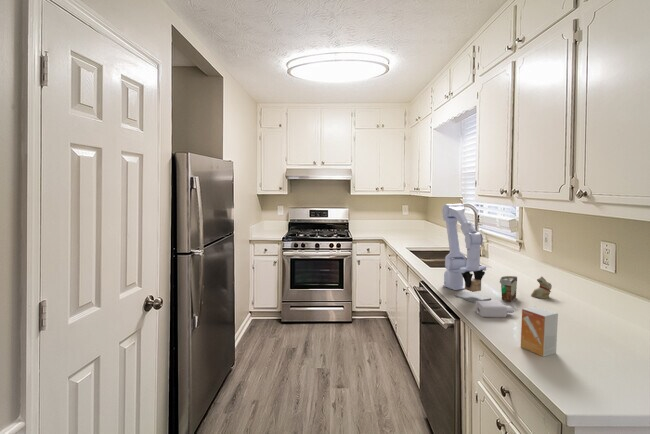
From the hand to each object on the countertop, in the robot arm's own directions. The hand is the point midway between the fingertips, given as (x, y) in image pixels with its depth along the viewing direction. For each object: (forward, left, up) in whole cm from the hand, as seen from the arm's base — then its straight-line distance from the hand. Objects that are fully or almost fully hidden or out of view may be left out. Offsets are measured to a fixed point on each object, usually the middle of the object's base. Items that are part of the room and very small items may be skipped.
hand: (472, 286), depth 177 cm
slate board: (0, 0, -5) cm, 5 cm away
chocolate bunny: (+12, +31, -6) cm, 34 cm away
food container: (+8, +13, -6) cm, 16 cm away
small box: (+53, -24, -6) cm, 58 cm away
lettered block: (0, 0, -2) cm, 2 cm away
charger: (+22, -8, -6) cm, 24 cm away
